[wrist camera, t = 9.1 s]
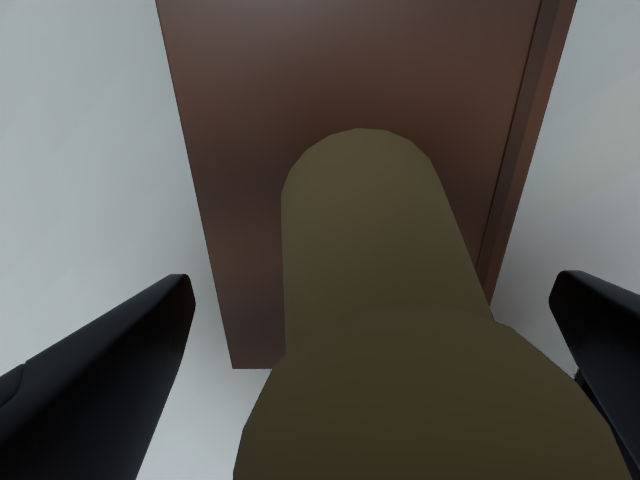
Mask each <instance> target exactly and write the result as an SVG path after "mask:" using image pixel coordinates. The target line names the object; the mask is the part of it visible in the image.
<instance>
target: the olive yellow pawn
mask: <svg viewBox="0 0 640 480" xmlns="http://www.w3.org/2000/svg"><path fill="white" fill-rule="evenodd" d="M281 230H282V257H283V284H284V311H285V338H286V355H285V356H284V357H283V358H282V359H281V360H280V361H279V362H277V363H276V364H275V365H274V367H273V369H272V371H271V373H270V375H269V377H268V379H267V381H266V383H265V385H264V387H263V389H262V391H261V393H260V395H259V397H258V399H257V401H256V404H255V406H254V408H253V410H252V412H251V414H250V416H249V418H248V420H247V422H246V424H245V426H244V428H243V431H242V436H241V440H240V444H239V449H238V453H237V457H236V462H235V466H234V470H233V480H632V478H631V475H630V473H629V471H628V468H627V466H626V464H625V461H624V459H623V457H622V454H621V452H620V450H619V447H618V445H617V443H616V440H615V438H614V436H613V433H612V431H611V429H610V426H609V425H608V423H607V422H606V421H605V419H604V418H603V417H602V415H601V414H600V413H599V411H598V410H597V409H596V407H595V406H594V405H593V403H592V402H591V401H590V399H589V398H588V397H587V395H586V394H585V393H584V391H583V390H582V389H581V387H580V386H579V385H578V383H577V382H576V381H575V380H573V379H572V378H571V377H570V376H569V375H568V374H566V373H565V372H564V371H563V370H562V369H561V368H559V367H558V366H557V365H556V364H555V363H554V362H552V361H551V360H550V359H549V358H548V357H547V356H545V355H544V354H543V353H542V352H541V351H539V350H538V349H537V348H536V347H534V346H533V345H532V344H531V343H529V342H528V341H527V340H526V339H524V338H523V337H522V336H521V335H520V334H518V333H517V332H516V331H515V330H513V329H512V328H511V327H510V326H507V325H504V324H501V323H498V322H495V320H494V318H493V315H492V313H491V310H490V307H489V305H488V302H487V300H486V297H485V295H484V292H483V289H482V287H481V284H480V282H479V279H478V277H477V274H476V271H475V269H474V266H473V264H472V261H471V259H470V256H469V253H468V251H467V248H466V246H465V243H464V241H463V238H462V235H461V233H460V230H459V228H458V225H457V222H456V220H455V217H454V215H453V212H452V210H451V207H450V204H449V202H448V199H447V197H446V194H445V192H444V189H443V186H442V184H441V181H440V179H439V177H438V175H437V173H436V171H435V169H434V167H433V165H432V163H431V160H430V158H429V157H428V156H426V155H425V154H424V153H423V152H422V151H421V150H420V149H419V148H418V147H417V146H416V145H415V144H414V143H413V142H412V141H410V140H408V139H406V138H403V137H401V136H399V135H396V134H394V133H392V132H389V131H387V130H379V129H365V128H355V129H351V130H347V131H343V132H340V133H336V134H332V135H329V136H327V137H326V138H324V139H323V140H321V141H319V142H318V143H316V144H315V145H313V146H312V147H310V148H308V149H307V150H306V151H305V152H304V153H303V155H302V156H301V157H300V158H299V159H298V161H297V162H296V163H295V164H294V166H293V167H292V168H291V169H290V171H289V173H288V176H287V179H286V182H285V184H284V187H283V190H282V192H281Z"/></svg>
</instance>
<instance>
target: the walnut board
mask: <svg viewBox="0 0 640 480" xmlns="http://www.w3.org/2000/svg"><path fill="white" fill-rule="evenodd" d="M155 2H156V6H157V11H158V16H159V21H160V26H161V30H162V35H163V40H164V45H165V49H166V54H167V59H168V64H169V68H170V73H171V78H172V83H173V87H174V92H175V97H176V102H177V106H178V111H179V116H180V121H181V125H182V130H183V135H184V140H185V144H186V149H187V154H188V159H189V164H190V168H191V173H192V178H193V183H194V187H195V192H196V197H197V202H198V206H199V211H200V216H201V221H202V225H203V230H204V235H205V240H206V244H207V249H208V254H209V259H210V263H211V268H212V273H213V278H214V282H215V287H216V292H217V297H218V302H219V306H220V311H221V316H222V321H223V325H224V330H225V335H226V340H227V344H228V349H229V354H230V359H231V363H232V368H233V369H273V367H274V365H275V364H276V363H277V362H279V361H280V360H281V359H282V358H283V357H284V356H285V355H286V338H285V311H284V284H283V257H282V230H281V192H282V190H283V187H284V184H285V182H286V179H287V176H288V173H289V171H290V169H291V168H292V167H293V166H294V164H295V163H296V162H297V161H298V159H299V158H300V157H301V156H302V155H303V153H304V152H305V151H306V150H307V149H308V148H310V147H312V146H313V145H315V144H316V143H318V142H319V141H321V140H323V139H324V138H326V137H327V136H329V135H332V134H336V133H340V132H343V131H347V130H351V129H355V128H365V129H379V130H387V131H389V132H392V133H394V134H396V135H399V136H401V137H403V138H406V139H408V140H410V141H412V142H413V143H414V144H415V145H416V146H417V147H418V148H419V149H420V150H421V151H422V152H423V153H424V154H425V155H426V156H428V157H429V158H430V160H431V163H432V165H433V167H434V169H435V171H436V173H437V175H438V177H439V179H440V181H441V184H442V186H443V189H444V192H445V194H446V197H447V199H448V202H449V204H450V207H451V210H452V212H453V215H454V217H455V220H456V222H457V225H458V228H459V230H460V233H461V235H462V238H463V241H464V243H465V246H466V248H467V251H468V253H469V256H470V259H471V261H472V264H473V266H474V269H475V271H476V274H477V277H478V279H479V282H480V284H481V287H482V289H483V292H484V295H485V297H486V300H487V302H488V305H489V306H490V303H491V299H492V296H493V292H494V289H495V285H496V282H497V278H498V275H499V271H500V268H501V264H502V261H503V257H504V254H505V251H506V247H507V244H508V240H509V237H510V233H511V230H512V226H513V223H514V219H515V216H516V212H517V209H518V205H519V202H520V198H521V195H522V191H523V188H524V184H525V181H526V177H527V174H528V170H529V167H530V163H531V160H532V156H533V153H534V149H535V146H536V142H537V139H538V135H539V132H540V128H541V125H542V121H543V118H544V114H545V111H546V107H547V104H548V100H549V97H550V93H551V90H552V86H553V83H554V79H555V76H556V72H557V69H558V65H559V62H560V58H561V55H562V51H563V48H564V44H565V41H566V37H567V34H568V30H569V27H570V23H571V20H572V16H573V13H574V9H575V6H576V2H577V0H155Z"/></svg>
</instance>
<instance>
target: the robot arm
mask: <svg viewBox="0 0 640 480" xmlns="http://www.w3.org/2000/svg"><path fill="white" fill-rule="evenodd" d="M195 307H196V302H195V297H194V293H193V289H192V285H191V281H190V278H189V276H188V275H186V274H170V275H168V276H167V277H165V278H163V279H162V280H160V281H158V282H157V283H155V284H153V285H152V286H150V287H148V288H147V289H145V290H143V291H142V292H140V293H138V294H137V295H135V296H133V297H132V298H130V299H128V300H127V301H125V302H123V303H122V304H120V305H118V306H117V307H115V308H113V309H112V310H110V311H109V312H107V313H105V314H104V315H102V316H100V317H99V318H97V319H95V320H94V321H92V322H90V323H89V324H87V325H85V326H84V327H82V328H80V329H79V330H77V331H75V332H74V333H72V334H70V335H69V336H67V337H65V338H64V339H62V340H60V341H59V342H57V343H55V344H54V345H52V346H50V347H49V348H47V349H46V350H44V351H42V352H41V353H39V354H37V355H36V356H34V357H32V358H31V359H29V360H27V361H26V362H25V364H20V365H19V366H17V367H16V368H14V369H12V370H11V371H9V372H7V373H6V374H4V375H2V376H1V377H0V480H136V477H137V475H138V472H139V470H140V467H141V465H142V462H143V459H144V457H145V454H146V452H147V449H148V447H149V444H150V442H151V439H152V436H153V434H154V431H155V429H156V426H157V424H158V421H159V419H160V416H161V413H162V411H163V408H164V406H165V403H166V401H167V398H168V396H169V393H170V390H171V388H172V385H173V383H174V380H175V378H176V375H177V372H178V370H179V367H180V364H181V361H182V357H183V354H184V350H185V346H186V342H187V339H188V335H189V331H190V327H191V323H192V320H193V316H194V312H195ZM549 307H550V309H551V311H552V314H553V316H554V318H555V320H556V322H557V324H558V326H559V329H560V331H561V333H562V335H563V337H564V339H565V341H566V343H567V346H568V348H569V350H570V352H571V354H572V356H573V358H574V360H575V362H576V364H577V366H578V367H579V369H580V371H581V373H580V375H579V377H578V379H577V381H576V382H577V383H578V385H579V386H580V387H581V389H582V390H583V391H584V393H585V394H586V395H587V397H588V398H589V399H590V401H591V402H592V403H593V405H594V406H595V407H596V409H597V410H598V411H599V413H600V414H601V415H602V417H603V418H604V419H605V421H606V422H607V423H608V425H609V426H610V429H611V431H612V433H613V436H614V438H615V440H616V443H617V445H618V447H619V450H620V452H621V454H622V457H623V459H624V461H625V464H626V466H627V468H628V471H629V473H630V475H631V478H632V480H640V295H638V294H635V293H633V292H630V291H628V290H626V289H623V288H621V287H619V286H616V285H614V284H611V283H609V282H607V281H604V280H602V279H600V278H597V277H595V276H592V275H590V274H588V273H585V272H583V271H579V270H568V271H561V272H560V273H559V274H558V275H557V278H556V280H555V283H554V285H553V288H552V291H551V293H550V296H549Z"/></svg>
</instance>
